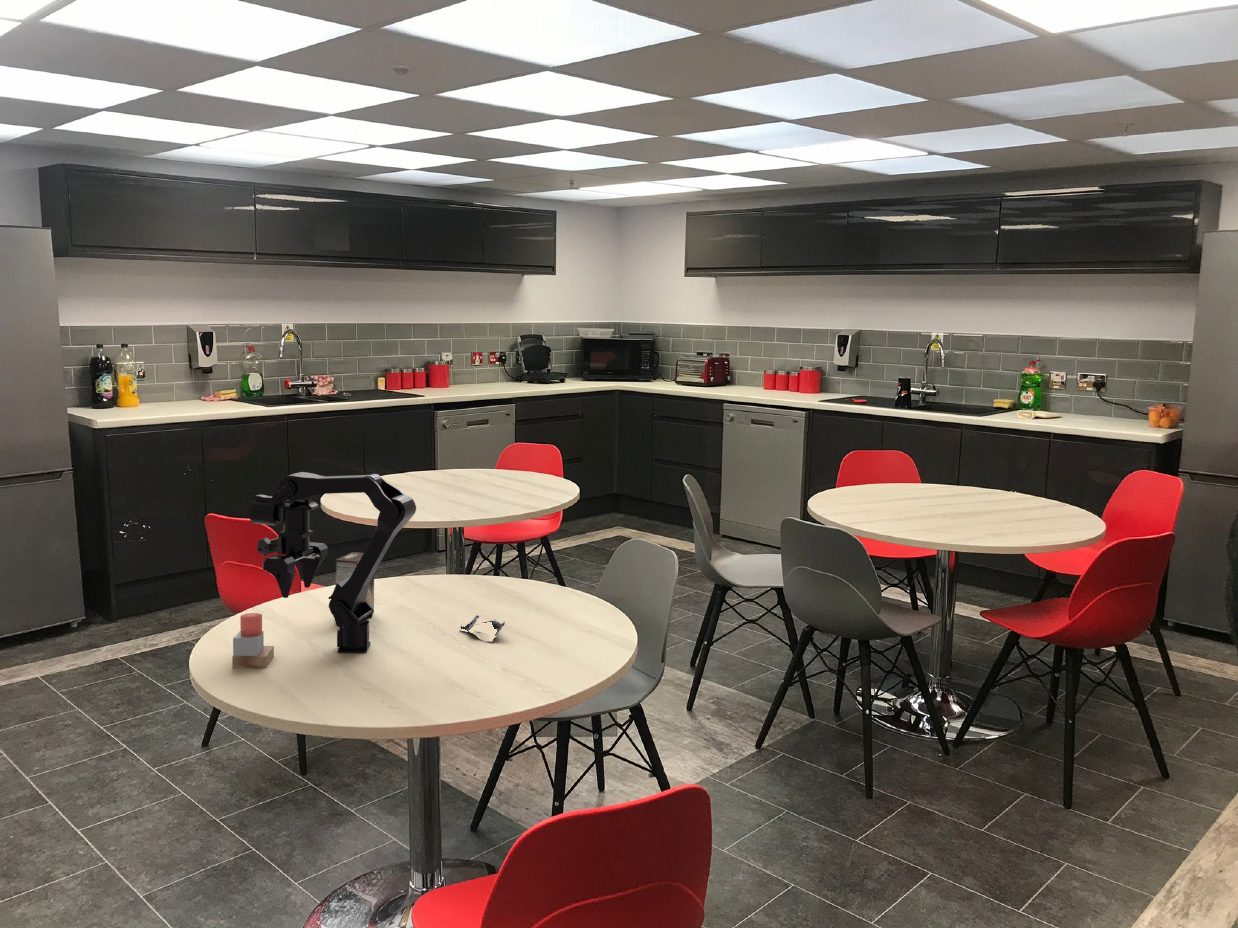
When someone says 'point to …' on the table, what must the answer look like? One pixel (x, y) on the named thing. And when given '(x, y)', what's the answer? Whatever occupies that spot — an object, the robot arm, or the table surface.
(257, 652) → the grey block
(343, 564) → the coffee box
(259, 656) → the walnut slab
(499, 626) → the snack package
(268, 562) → the robot arm
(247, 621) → the red cylinder
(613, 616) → the table surface
